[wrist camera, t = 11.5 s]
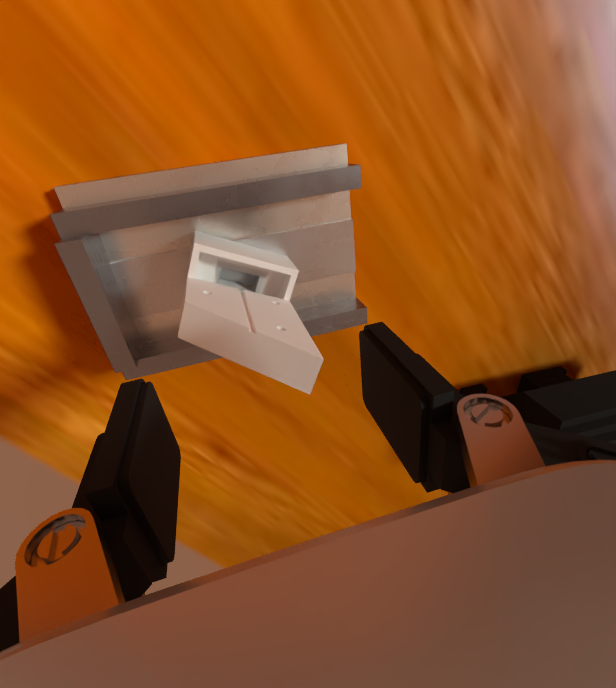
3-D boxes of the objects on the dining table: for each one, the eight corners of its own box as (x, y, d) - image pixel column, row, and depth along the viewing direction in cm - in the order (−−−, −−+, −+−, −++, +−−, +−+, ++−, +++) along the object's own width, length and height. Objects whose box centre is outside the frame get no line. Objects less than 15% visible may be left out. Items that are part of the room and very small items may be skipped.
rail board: (340, 143, 22) (366, 143, 19) (352, 319, 28) (373, 342, 25) (59, 185, 20) (30, 193, 16) (139, 368, 26) (129, 402, 22)
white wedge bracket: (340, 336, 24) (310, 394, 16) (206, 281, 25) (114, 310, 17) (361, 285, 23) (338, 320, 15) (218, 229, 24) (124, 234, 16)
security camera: (457, 369, 34) (544, 445, 25) (616, 336, 37) (740, 392, 29) (447, 426, 37) (521, 509, 28) (594, 390, 41) (699, 455, 32)
